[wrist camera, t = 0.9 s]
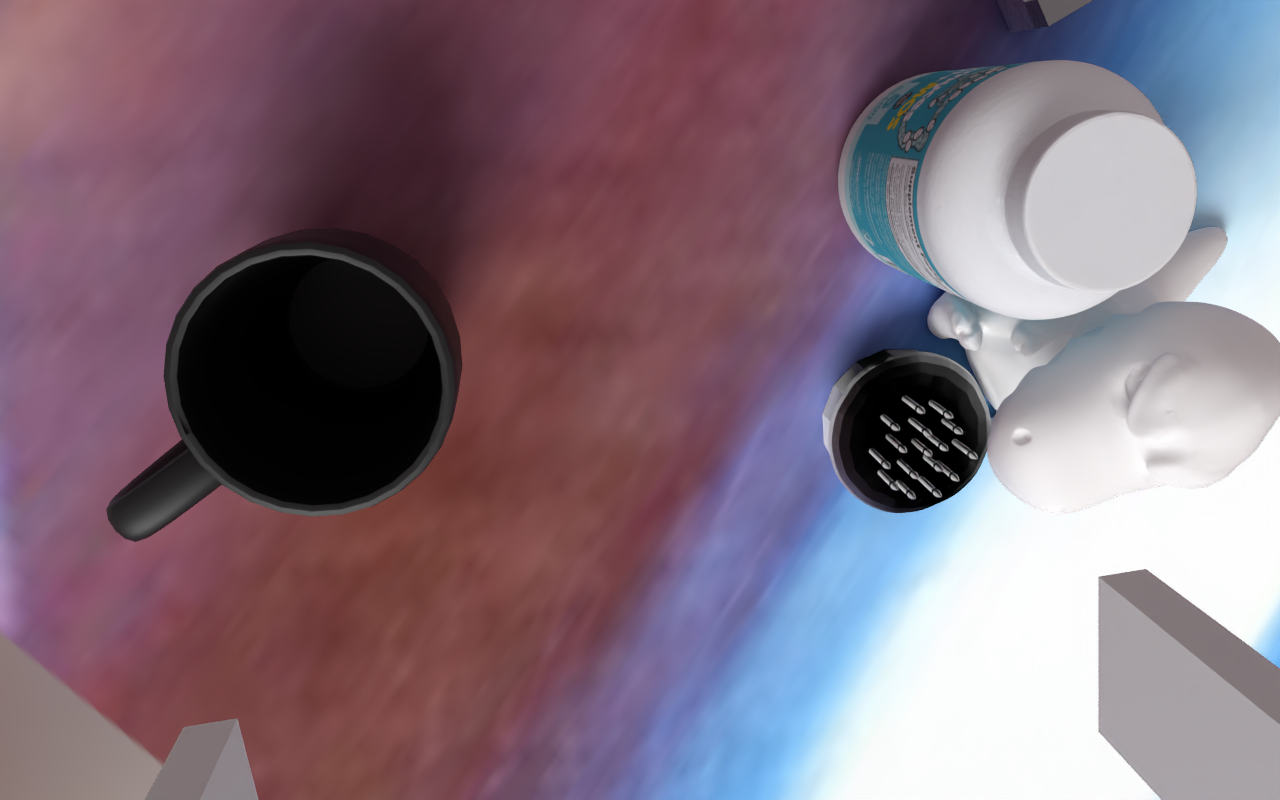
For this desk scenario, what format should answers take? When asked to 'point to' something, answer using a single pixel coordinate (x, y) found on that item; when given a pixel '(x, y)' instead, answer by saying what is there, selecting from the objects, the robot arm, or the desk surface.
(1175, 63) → the desk surface
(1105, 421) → the figurine
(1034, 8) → the console
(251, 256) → the mug
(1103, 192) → the pill bottle
